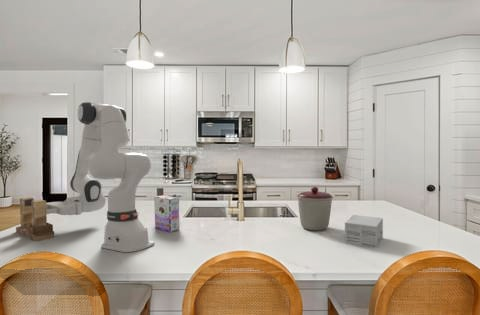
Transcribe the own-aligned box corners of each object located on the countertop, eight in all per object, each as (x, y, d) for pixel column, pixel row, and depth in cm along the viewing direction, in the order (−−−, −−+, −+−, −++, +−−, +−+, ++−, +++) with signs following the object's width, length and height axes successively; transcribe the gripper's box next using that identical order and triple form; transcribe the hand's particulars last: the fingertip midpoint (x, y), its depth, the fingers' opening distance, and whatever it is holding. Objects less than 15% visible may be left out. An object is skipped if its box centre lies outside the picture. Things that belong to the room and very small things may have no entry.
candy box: (179, 230, 155) (179, 197, 155) (169, 232, 151) (169, 199, 150) (164, 225, 165) (163, 194, 164) (154, 227, 160) (154, 195, 160)
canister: (289, 228, 157) (289, 187, 157) (308, 222, 171) (308, 183, 170) (322, 235, 145) (322, 190, 144) (339, 227, 158) (339, 186, 158)
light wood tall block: (46, 230, 146) (46, 200, 145) (36, 232, 142) (35, 202, 141) (42, 228, 149) (41, 199, 148) (31, 230, 145) (30, 201, 145)
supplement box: (352, 234, 148) (352, 214, 148) (382, 238, 141) (383, 217, 141) (344, 243, 134) (344, 221, 133) (377, 248, 127) (377, 226, 126)
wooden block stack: (54, 236, 145) (53, 201, 144) (34, 241, 138) (33, 204, 138) (34, 228, 159) (33, 196, 159) (16, 232, 153) (15, 198, 152)
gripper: (62, 197, 163) (32, 201, 152) (81, 201, 150) (50, 206, 139) (63, 209, 163) (33, 214, 152) (82, 214, 151) (51, 220, 140)
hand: (41, 210), depth 146 cm, fingers open, 8 cm apart
